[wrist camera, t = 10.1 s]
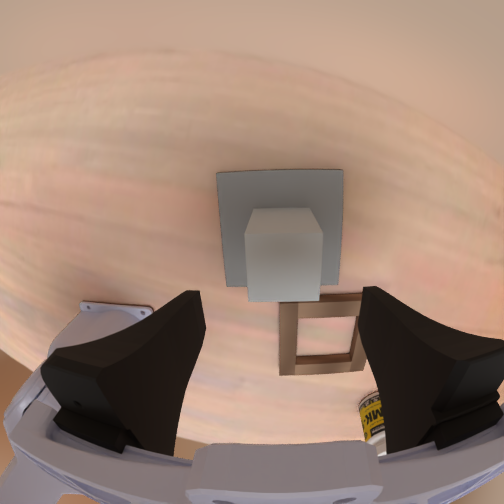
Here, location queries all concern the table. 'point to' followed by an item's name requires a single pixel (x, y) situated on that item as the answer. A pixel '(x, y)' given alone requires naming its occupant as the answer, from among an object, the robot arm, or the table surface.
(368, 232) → the table surface
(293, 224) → the block
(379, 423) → the supplement bottle
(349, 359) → the holder
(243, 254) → the coaster
